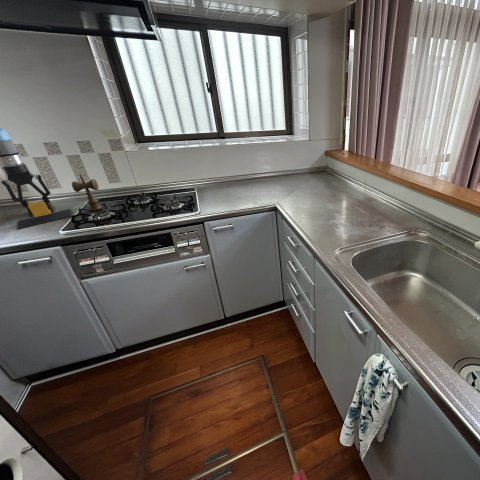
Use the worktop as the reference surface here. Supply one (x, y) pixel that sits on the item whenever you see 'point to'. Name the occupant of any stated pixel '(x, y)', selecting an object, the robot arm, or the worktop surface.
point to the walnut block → (49, 205)
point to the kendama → (88, 192)
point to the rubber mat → (43, 219)
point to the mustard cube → (38, 208)
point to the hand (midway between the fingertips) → (41, 210)
